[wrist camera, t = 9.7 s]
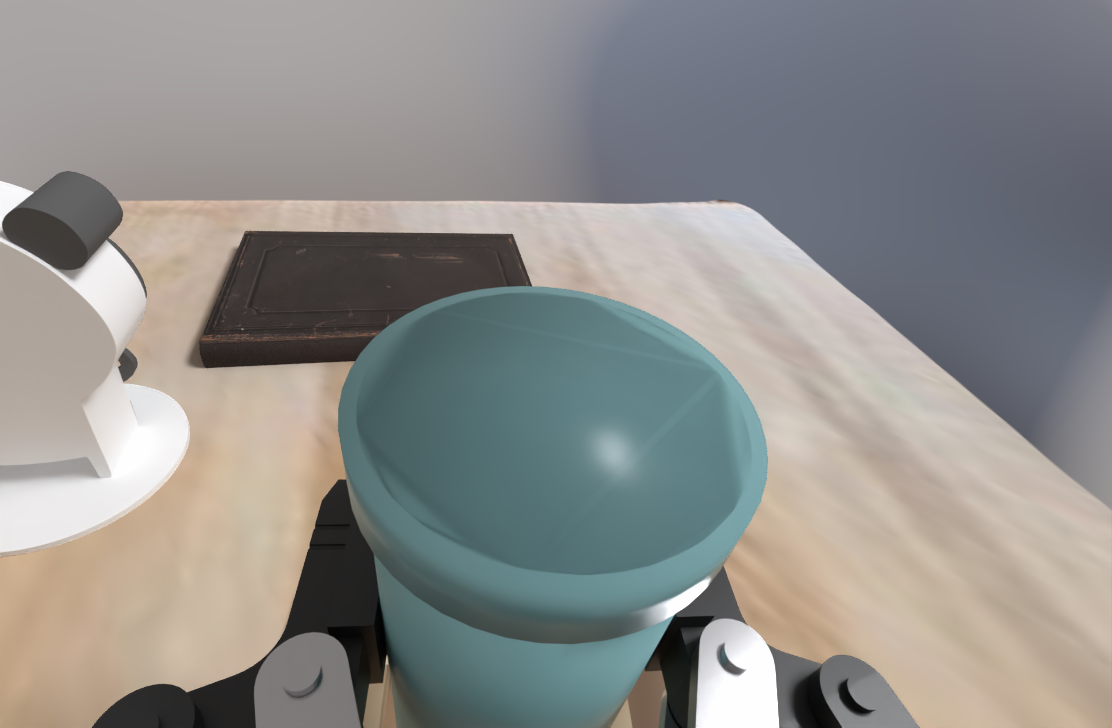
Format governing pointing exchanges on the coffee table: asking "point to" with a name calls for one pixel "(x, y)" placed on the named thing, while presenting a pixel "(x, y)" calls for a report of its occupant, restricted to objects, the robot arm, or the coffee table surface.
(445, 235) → the hardcover book
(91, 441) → the panda figurine
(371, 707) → the collar base
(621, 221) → the coffee table surface
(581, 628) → the teal domed canister
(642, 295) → the coffee table surface
